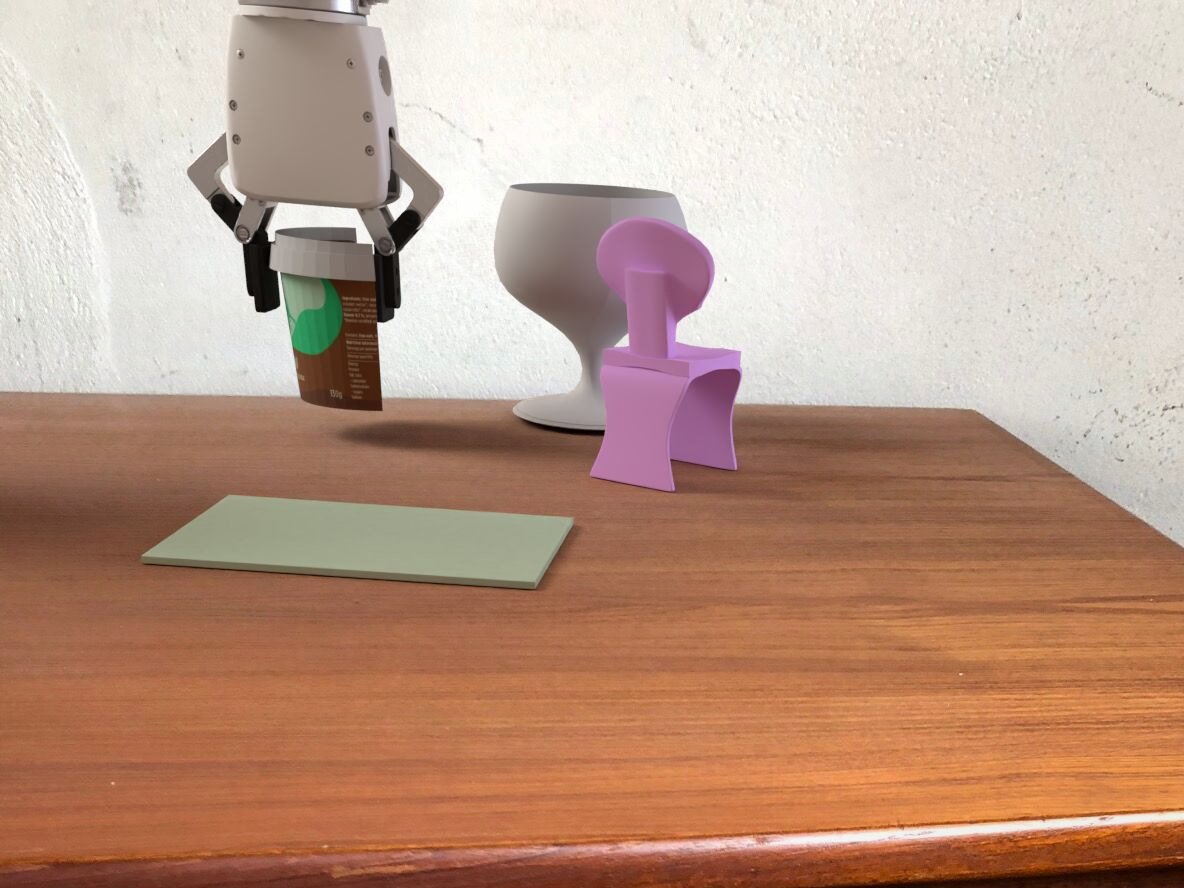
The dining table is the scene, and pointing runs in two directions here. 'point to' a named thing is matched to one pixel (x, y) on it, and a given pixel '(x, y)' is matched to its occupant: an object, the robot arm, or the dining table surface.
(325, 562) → the mat
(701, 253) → the toy chair
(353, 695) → the dining table surface
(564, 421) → the chalice
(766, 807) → the dining table surface
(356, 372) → the food container
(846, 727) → the dining table surface
